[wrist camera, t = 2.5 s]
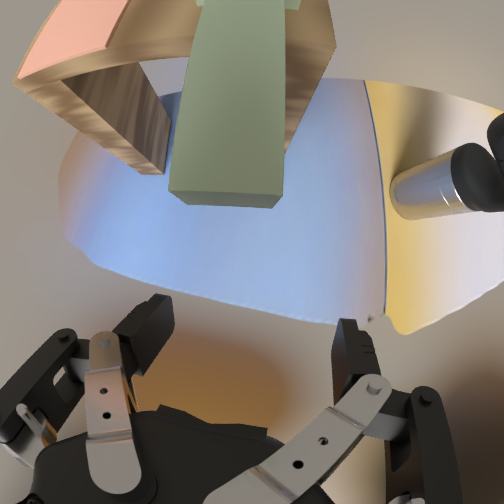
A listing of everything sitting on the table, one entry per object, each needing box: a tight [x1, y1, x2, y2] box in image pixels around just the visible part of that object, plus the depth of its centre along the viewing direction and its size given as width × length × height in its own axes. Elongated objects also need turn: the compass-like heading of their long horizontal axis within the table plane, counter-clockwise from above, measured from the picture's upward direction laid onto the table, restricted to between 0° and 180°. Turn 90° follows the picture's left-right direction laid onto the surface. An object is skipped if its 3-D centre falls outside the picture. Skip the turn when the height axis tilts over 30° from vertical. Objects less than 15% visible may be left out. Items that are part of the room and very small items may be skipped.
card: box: [18, 0, 131, 79], centre depth 10 cm, size 8×10×1 cm
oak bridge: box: [12, 0, 336, 175], centre depth 26 cm, size 22×10×32 cm, turn 87°
